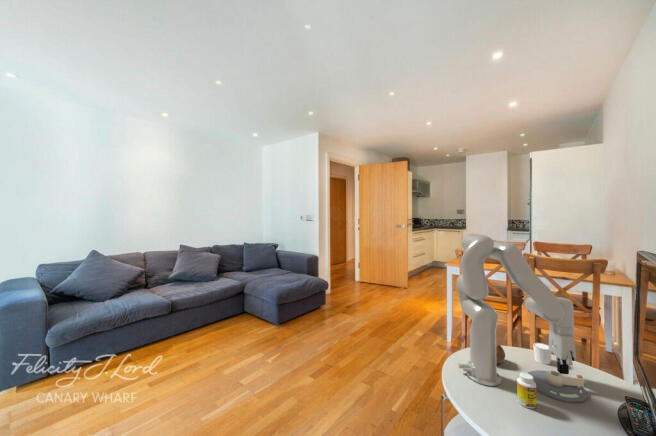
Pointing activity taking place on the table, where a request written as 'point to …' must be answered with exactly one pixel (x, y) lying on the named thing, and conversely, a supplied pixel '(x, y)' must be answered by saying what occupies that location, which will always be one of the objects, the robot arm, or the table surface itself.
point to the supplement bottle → (526, 390)
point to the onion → (499, 354)
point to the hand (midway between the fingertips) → (563, 372)
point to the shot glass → (542, 353)
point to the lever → (564, 379)
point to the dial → (558, 389)
